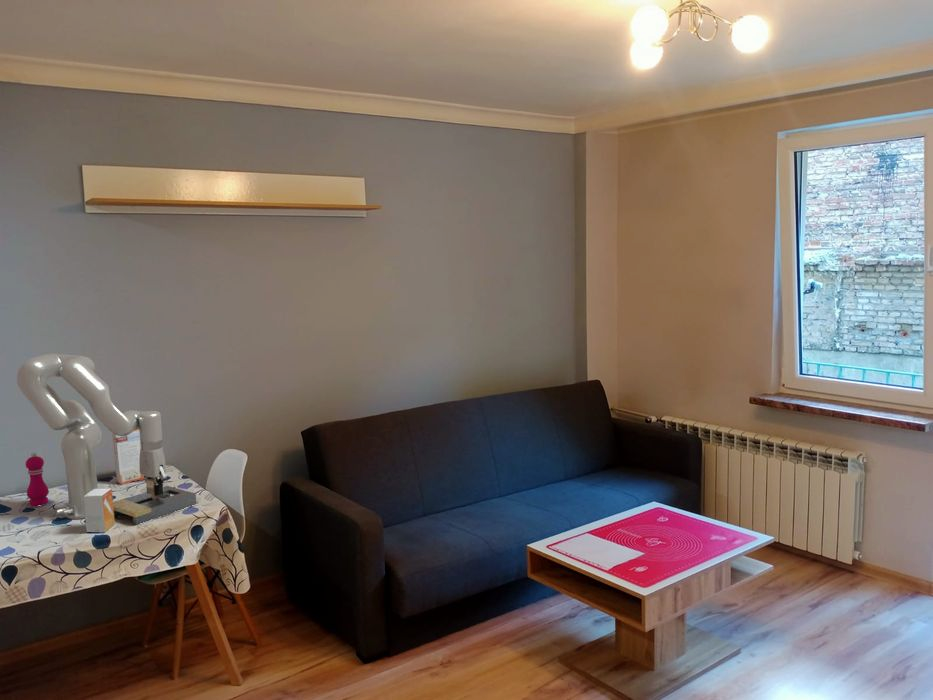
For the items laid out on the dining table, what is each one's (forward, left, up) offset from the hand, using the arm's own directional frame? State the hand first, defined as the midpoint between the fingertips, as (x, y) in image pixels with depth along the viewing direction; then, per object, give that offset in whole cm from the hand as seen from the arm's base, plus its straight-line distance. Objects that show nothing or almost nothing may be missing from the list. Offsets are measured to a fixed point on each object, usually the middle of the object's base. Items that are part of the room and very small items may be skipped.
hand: (155, 493), depth 270 cm
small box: (-21, -1, -6) cm, 22 cm away
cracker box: (+17, +41, -6) cm, 44 cm away
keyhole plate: (-1, 0, -6) cm, 6 cm away
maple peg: (0, 0, -6) cm, 6 cm away
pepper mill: (-21, +45, -6) cm, 50 cm away
